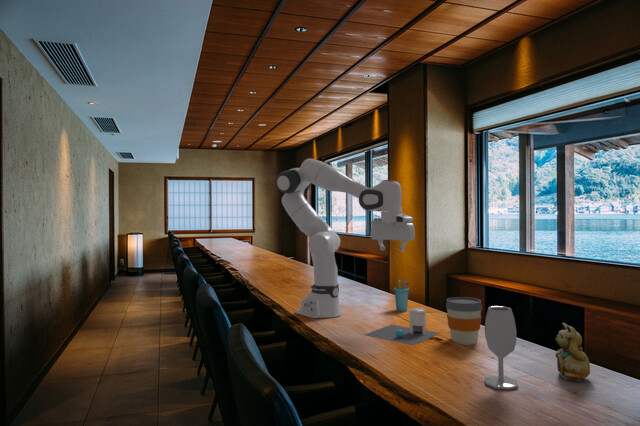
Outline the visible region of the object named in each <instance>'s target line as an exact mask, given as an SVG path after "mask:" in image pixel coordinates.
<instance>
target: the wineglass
mask: <svg viewBox="0 0 640 426" xmlns="http://www.w3.org/2000/svg"><path fill="white" fill-rule="evenodd" d="M512 310H513V309H512V308H511V307H507V306H505V305H502V306H501V305H500V306H499V305H494V306H493V305H492V306H488V308H487V312H486V315H485V321H484V322H485V323H484V337H485V340H486V345H487V348H488V350H490V351H491V352H492V353H493V354H494V355H495V356H496V357H497V365H498V366H497V368H498V369H497V375H491V376H487V377H486V376H485V377H484V382H485V385H487V386H488V387H491V388H493V389H494V390H495V389H496V390H507V391H508V390H509V391H510V390H514V389H519V384H518V381H517V380H516V379H514V378H510V376H509V377H508V376H504V370H505V369H504V359H505V357H507V356H508V355H510V354H511V353H513V352H514V351H515V348H516V344H517V339H518V337H517V335H518V334H517V327H516V321H515V320H516V319H515V316H514V313H513V311H512Z"/></svg>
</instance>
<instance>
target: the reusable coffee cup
mask: <svg viewBox="0 0 640 426" xmlns="http://www.w3.org/2000/svg"><path fill="white" fill-rule="evenodd" d="M482 305H483V304H482V300H481V299H479V298H475V297H467V296H466V297H465V296H463V297H462V296H460V297H459V296H455V297H447V299H446V303H445V307H446V310H447V314H446V318H447V325H448V328H449V331H450V338H451V339H450V340H451V341H452V342H454V343H457V344H458V345H462V346H463V345H465V346H472V345H476V344H477V343H478V340H479V331H480V330H481V324H482V315H481V312H482V310H483V306H482Z"/></svg>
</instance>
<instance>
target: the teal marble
mask: <svg viewBox="0 0 640 426" xmlns="http://www.w3.org/2000/svg"><path fill="white" fill-rule="evenodd" d="M403 335H404V333H403V331H402V330H397V331H396V336H397V337H398V338H402V337H403Z"/></svg>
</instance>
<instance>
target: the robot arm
mask: <svg viewBox="0 0 640 426" xmlns="http://www.w3.org/2000/svg"><path fill="white" fill-rule="evenodd" d="M312 184H313V185H314V186H315V187H318V188H320V189H322V190H326V191H330V192H339V193H346V194H349V195H351V196H354V197H356V198H357V199H358V204H359V205H360V207H361V208H362V209H363V210H366V211H369V212H370V211H371V212H380V217H379V218H376V217H375V218H373V219H372V220H371V222H370V224H371V225H370V226H371V227H370V239H371V240H377V243H378V245H379V248H380V249H379V250H380V251H386V246H385V245H384V244H383V242H384V240H385V241H400V243H401V245H400V246H398V247H399V248H398V249H399V252H405V247H406V246H407V243H408V241H414V240H415V238H416V236H415V235H416V231H415V225H414V223H412V222H413V221H414V218H413V217H412V216H411V215H407V214H405V213H403V209H402V201H403V198H402V197H403V196H402V188H401V184H400V183H399V182H398V181H395V180H389V179H384V180H382V181H380V182H379V183H378V184H376V185H374V186H372V187H368V186H367V185H364V184H361V183H359V182H357V181H356V180H353V179H351V178H349V177H348V176H347V175H345V174H344V173H343V172H341V171H340V170H338V169H337V168H335V167H333V166H332V165H330V164H328V163H326V162H324V161H321V160H319V159H315V158H306V159H305V160H304V161H303V162H302V163H301V165H300V167H293V168H290V169H288V170H284V171H282V172H280V173H279V174H278V175H277V176H276V178H275V186H276V188H277V190H278V191H279V192H281V193H283V196H281V204H282V206H283V208H284V210H285V212H286V213H287V215H288V216H289V217H290V219H291V220H292V221H293V222H294V224H295V225H296V227H297V228H298V229H299V230H300V232H302V233H304V235H305V236H307V237H308V238H309V240H308V249H309V251H310V254H311V260H312V266H313V284H312V285H311V286H309V289H311V291H310V292H309V293H308V294H307V295H306V296H305V297H304V298H303V299H302V300H301V302H300V308H299V309H297V310H296V311H295V314H297V315H301V316H304V317H308V318H311V319H323V318H325V319H327V318H330V319H331V318H336V317H339V316H342V311H341V306H340V305H341V304H340V300H339V299H340V298H339V292H340V288H339V286H340V285H339V282H338V280H339V279H338V277H339V276H338V274H339V273H338V265H337V262H336V256H335V252H337V250H338V249H339V247H340V245H341V237H340V236H339V235H338V234H337V233H336V232H335V230H334V229H332V227H331V226H330V225H329V224H328V223H327V222H325V220H324V219H322V218H321V216H320V215H319V214H318V213H317V212H316V210H315V209H314V208H313V207H312V206H311V204H310V202H308V200H307V199H306V197H305V196H304V195H305V194H306V193H308V191H309V189H310V187H311V186H312Z"/></svg>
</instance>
